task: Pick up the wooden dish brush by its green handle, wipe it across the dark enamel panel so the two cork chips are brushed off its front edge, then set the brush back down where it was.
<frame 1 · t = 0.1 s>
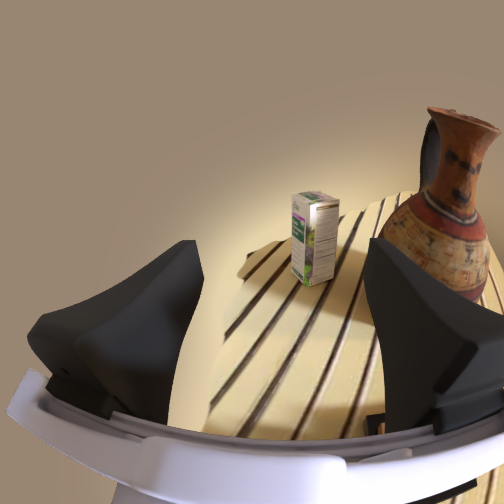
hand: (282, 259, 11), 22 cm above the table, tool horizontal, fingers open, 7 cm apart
enamel panel: (419, 459, 17), on the table
ceramic pitcher: (419, 301, 38), on the table
syrup box: (312, 276, 48), on the table
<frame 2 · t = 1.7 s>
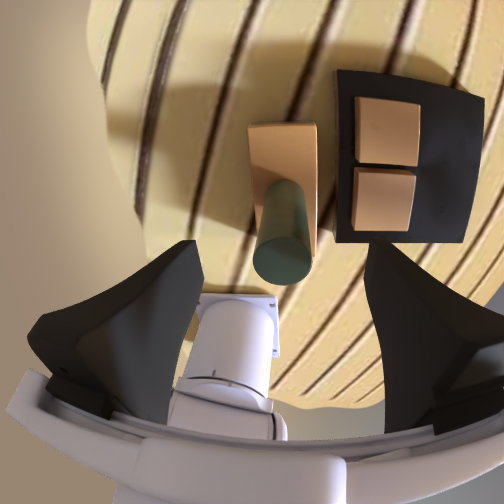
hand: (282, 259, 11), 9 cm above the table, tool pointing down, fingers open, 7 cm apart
enamel panel: (410, 160, 16), on the table
chip b: (384, 129, 14), point 1 cm above the table, touching enamel panel
chip a: (380, 196, 17), point 1 cm above the table, touching enamel panel
brush: (285, 184, 19), on the table
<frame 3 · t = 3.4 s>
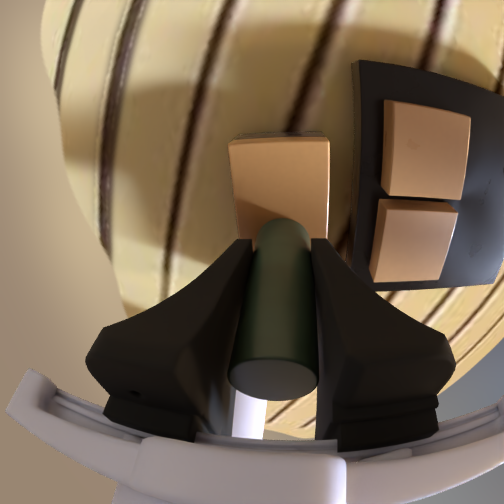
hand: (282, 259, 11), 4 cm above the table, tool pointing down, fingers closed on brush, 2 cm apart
enamel panel: (446, 186, 12), on the table
chip b: (421, 147, 10), point 1 cm above the table, touching enamel panel
chip a: (408, 236, 12), point 1 cm above the table, touching enamel panel
brush: (284, 217, 14), on the table, touching gripper
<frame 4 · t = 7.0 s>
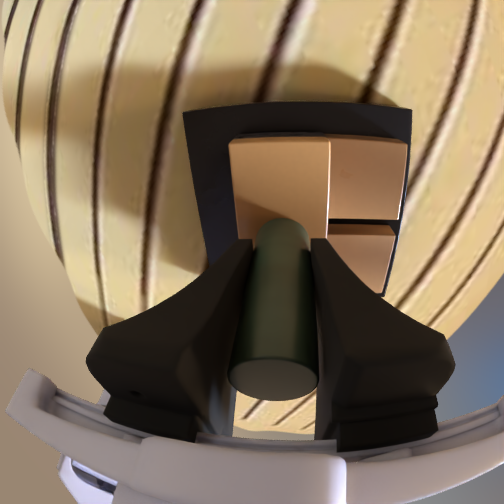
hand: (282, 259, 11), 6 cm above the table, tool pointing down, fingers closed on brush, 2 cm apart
enamel panel: (302, 204, 16), on the table
chip b: (360, 173, 13), point 2 cm above the table, touching enamel panel
chip a: (352, 254, 15), point 2 cm above the table, touching enamel panel
brush: (283, 216, 14), point 2 cm above the table, touching gripper
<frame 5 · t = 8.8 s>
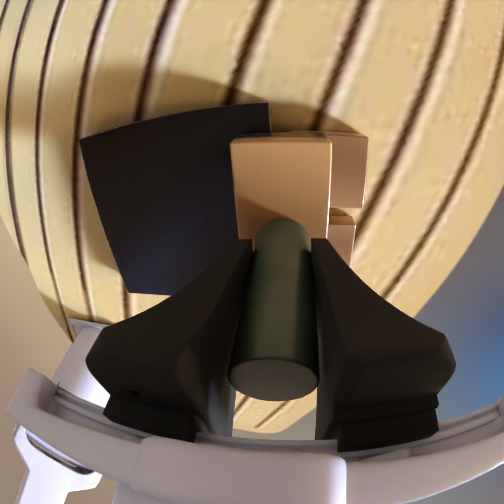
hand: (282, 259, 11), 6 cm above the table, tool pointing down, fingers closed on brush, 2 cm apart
enamel panel: (184, 208, 17), on the table
chip b: (326, 166, 14), on the table
chip a: (317, 243, 17), on the table
brush: (283, 217, 14), point 2 cm above the table, touching gripper
when the fingers open (4 cm above the table, at t = 13.2 s): brush stays where it is, on the table.
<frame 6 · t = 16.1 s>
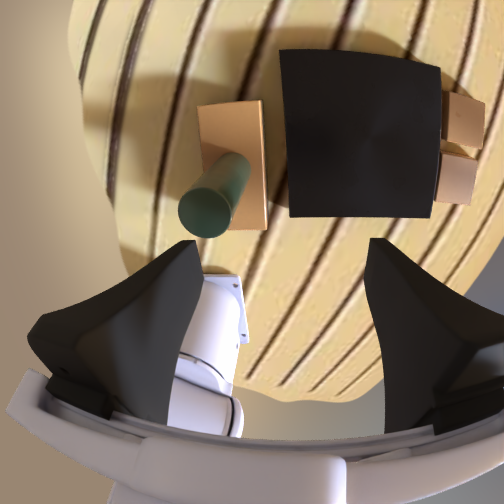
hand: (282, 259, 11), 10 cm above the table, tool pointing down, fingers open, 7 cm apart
enamel panel: (364, 134, 17), on the table
chip b: (459, 119, 15), on the table
chip a: (451, 176, 17), on the table
brush: (238, 161, 19), on the table
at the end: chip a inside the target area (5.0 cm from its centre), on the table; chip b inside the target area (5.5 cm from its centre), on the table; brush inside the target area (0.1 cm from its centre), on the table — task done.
